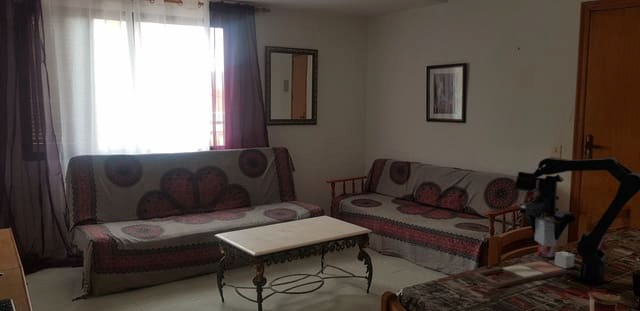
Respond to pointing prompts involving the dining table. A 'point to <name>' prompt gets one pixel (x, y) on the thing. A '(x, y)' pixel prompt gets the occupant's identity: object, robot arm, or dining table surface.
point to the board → (520, 273)
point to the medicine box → (545, 231)
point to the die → (564, 259)
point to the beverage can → (546, 250)
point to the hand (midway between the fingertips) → (545, 236)
